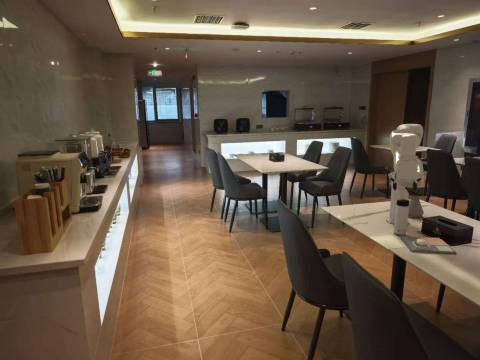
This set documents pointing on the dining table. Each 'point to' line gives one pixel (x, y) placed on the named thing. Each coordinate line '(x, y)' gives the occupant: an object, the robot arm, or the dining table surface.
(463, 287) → the dining table surface
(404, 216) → the travel mug
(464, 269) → the dining table surface
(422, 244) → the button
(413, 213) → the coffee pot
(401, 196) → the robot arm
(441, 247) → the picture board
